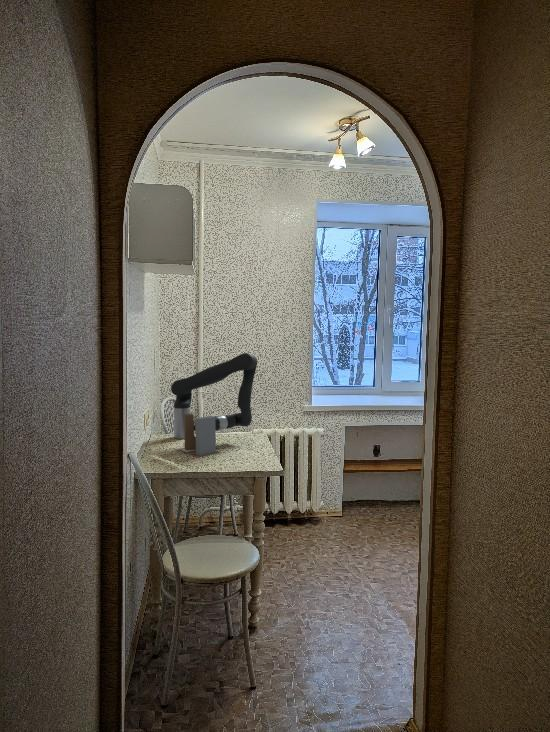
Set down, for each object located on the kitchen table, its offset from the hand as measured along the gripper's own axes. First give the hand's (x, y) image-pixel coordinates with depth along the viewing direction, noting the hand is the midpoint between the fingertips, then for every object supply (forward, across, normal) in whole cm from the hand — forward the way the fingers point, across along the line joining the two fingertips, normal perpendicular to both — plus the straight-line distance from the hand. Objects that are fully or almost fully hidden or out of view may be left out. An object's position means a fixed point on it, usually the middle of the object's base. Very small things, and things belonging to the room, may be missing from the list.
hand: (189, 427), depth 292 cm
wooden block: (-2, 0, +12) cm, 12 cm away
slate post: (-2, +12, +12) cm, 17 cm away
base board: (-2, +5, +13) cm, 14 cm away
